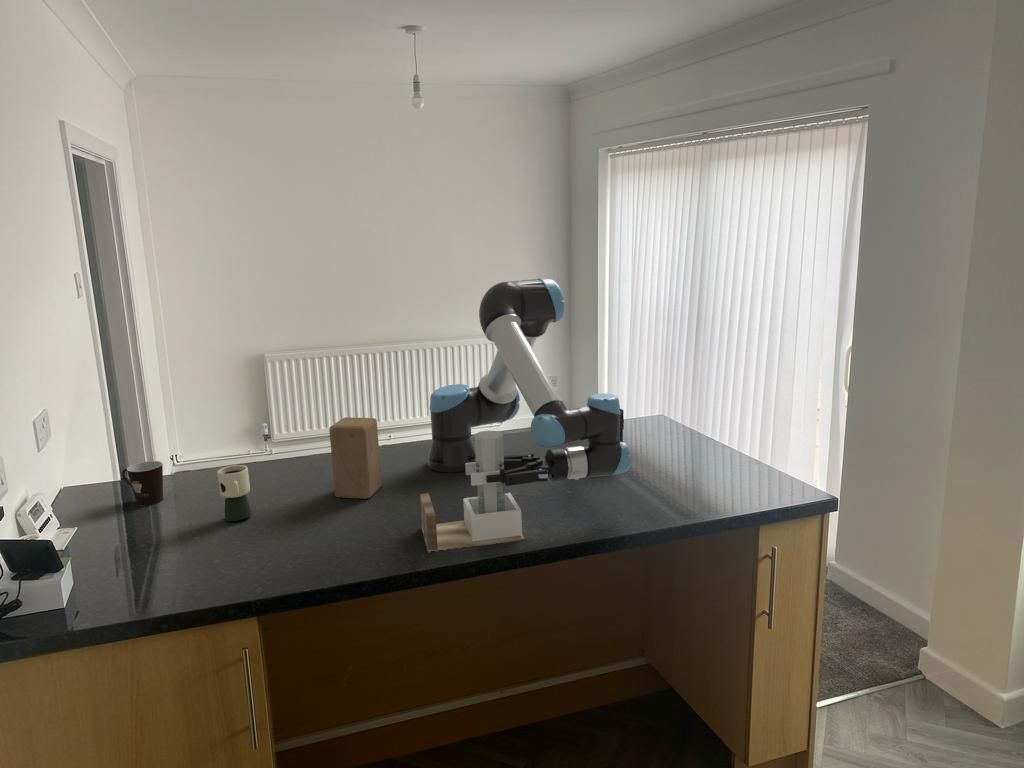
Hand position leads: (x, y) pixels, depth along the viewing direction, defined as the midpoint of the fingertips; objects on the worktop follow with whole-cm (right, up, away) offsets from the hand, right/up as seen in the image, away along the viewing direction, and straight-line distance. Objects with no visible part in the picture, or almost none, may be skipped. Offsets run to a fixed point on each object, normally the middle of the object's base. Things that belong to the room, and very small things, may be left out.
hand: (468, 474), depth 168 cm
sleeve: (+5, -13, +4) cm, 15 cm away
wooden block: (-32, -9, +31) cm, 45 cm away
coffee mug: (-89, -11, +31) cm, 95 cm away
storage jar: (+38, -2, +51) cm, 64 cm away
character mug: (-59, -13, +17) cm, 63 cm away
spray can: (+5, -10, +4) cm, 12 cm away
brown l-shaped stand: (+1, -14, +3) cm, 15 cm away
